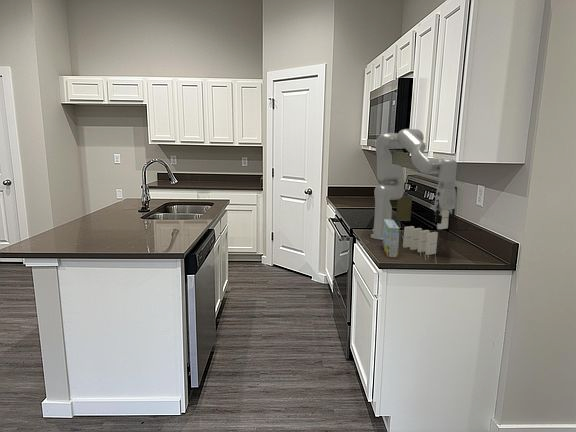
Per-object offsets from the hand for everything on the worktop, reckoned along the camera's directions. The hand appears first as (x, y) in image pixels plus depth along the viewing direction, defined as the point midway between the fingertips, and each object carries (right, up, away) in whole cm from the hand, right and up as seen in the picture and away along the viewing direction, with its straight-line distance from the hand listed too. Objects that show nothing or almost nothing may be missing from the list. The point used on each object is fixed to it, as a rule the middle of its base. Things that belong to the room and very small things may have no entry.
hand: (442, 222), depth 195 cm
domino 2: (-8, -14, +17) cm, 23 cm away
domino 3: (-6, -15, +12) cm, 20 cm away
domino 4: (-3, -16, +8) cm, 18 cm away
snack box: (-23, -16, +10) cm, 30 cm away
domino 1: (-11, -13, +21) cm, 27 cm away
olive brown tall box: (+9, 0, +99) cm, 99 cm away
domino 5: (0, -3, +1) cm, 3 cm away
